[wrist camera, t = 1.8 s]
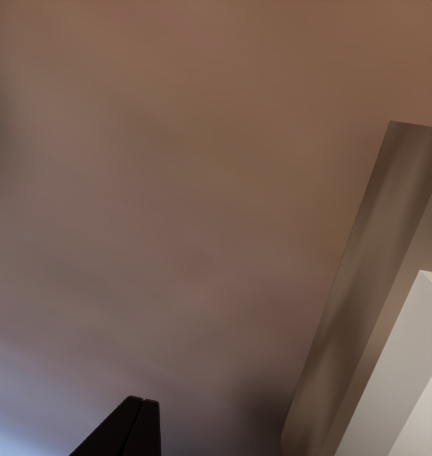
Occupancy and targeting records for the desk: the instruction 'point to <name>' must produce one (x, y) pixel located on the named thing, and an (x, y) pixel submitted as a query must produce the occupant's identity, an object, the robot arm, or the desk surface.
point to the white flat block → (398, 387)
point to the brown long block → (366, 292)
